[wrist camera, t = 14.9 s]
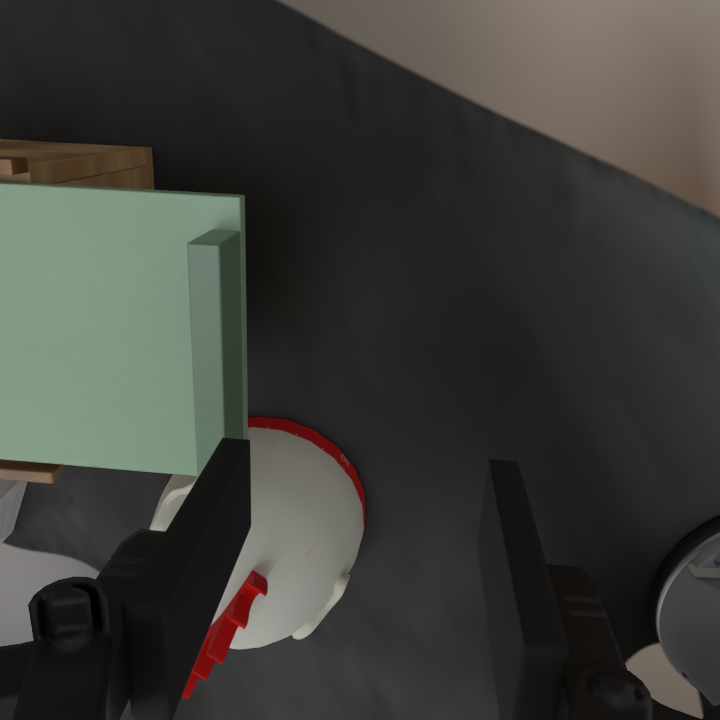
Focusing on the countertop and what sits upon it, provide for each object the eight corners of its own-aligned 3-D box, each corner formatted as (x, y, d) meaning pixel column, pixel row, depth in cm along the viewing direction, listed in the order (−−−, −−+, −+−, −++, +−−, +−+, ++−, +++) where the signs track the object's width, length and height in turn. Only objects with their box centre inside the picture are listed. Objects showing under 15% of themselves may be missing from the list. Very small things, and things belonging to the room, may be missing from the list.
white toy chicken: (138, 513, 49) (26, 674, 35) (242, 378, 45) (160, 500, 31) (292, 615, 51) (244, 806, 37) (405, 495, 47) (399, 661, 33)
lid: (245, 194, 27) (218, 207, 23) (248, 471, 31) (226, 518, 28) (-90, 175, 28) (-165, 184, 24) (-40, 447, 32) (-98, 489, 29)
